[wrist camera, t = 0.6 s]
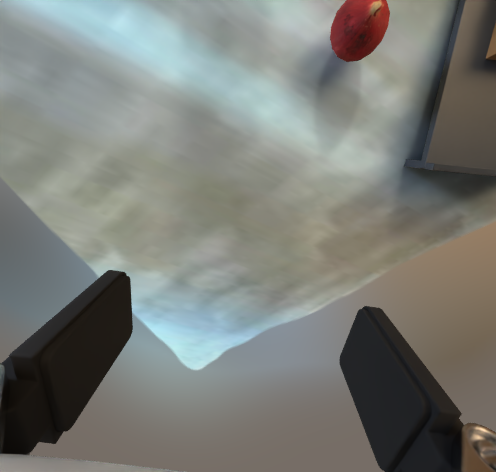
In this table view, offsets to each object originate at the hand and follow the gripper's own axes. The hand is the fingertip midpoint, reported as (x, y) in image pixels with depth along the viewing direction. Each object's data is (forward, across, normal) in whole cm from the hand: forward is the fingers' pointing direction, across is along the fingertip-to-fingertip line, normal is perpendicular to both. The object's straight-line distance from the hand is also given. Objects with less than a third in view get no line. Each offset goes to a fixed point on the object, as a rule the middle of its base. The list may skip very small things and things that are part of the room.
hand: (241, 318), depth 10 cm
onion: (+29, -9, -20) cm, 37 cm away
